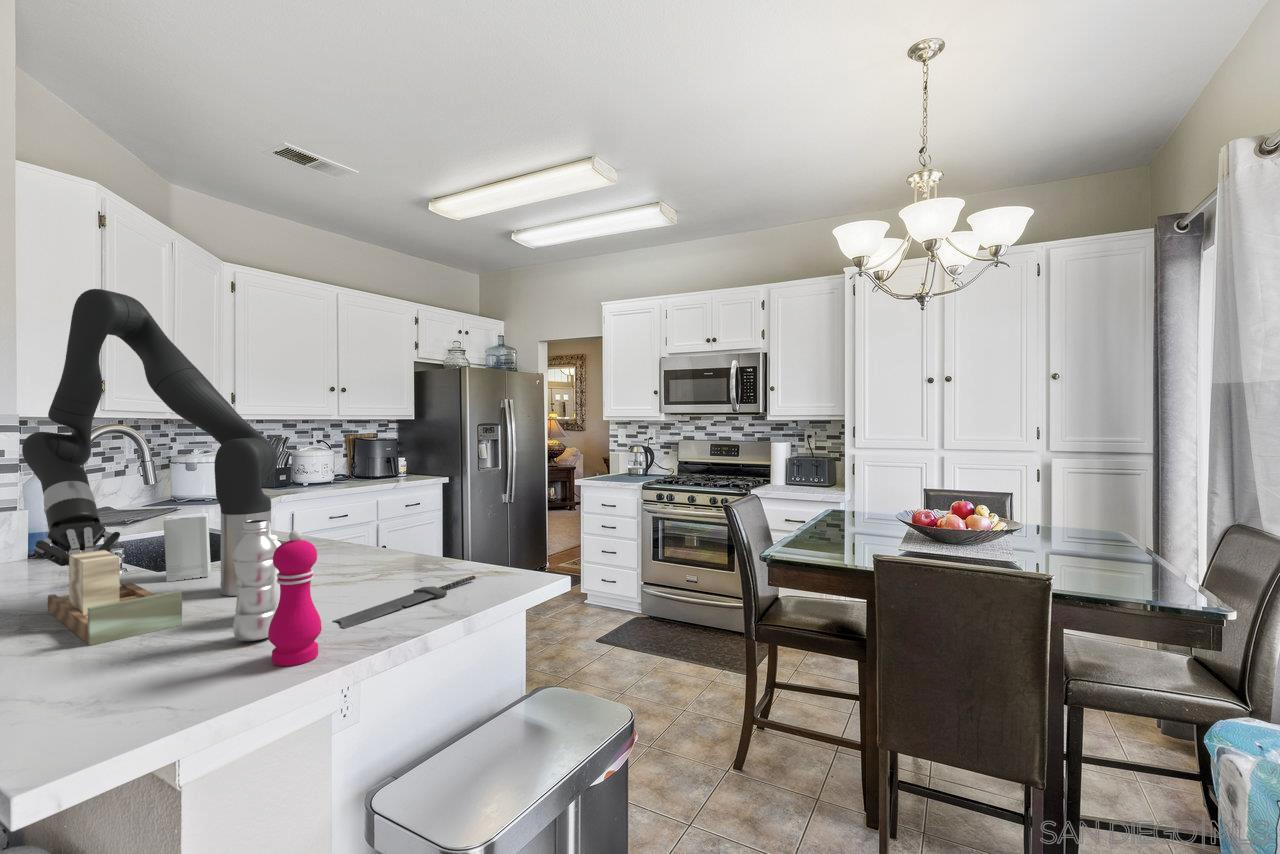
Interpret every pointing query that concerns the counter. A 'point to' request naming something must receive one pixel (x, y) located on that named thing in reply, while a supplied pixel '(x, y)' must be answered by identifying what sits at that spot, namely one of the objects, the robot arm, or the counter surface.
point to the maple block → (93, 579)
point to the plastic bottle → (254, 582)
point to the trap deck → (120, 614)
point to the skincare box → (187, 546)
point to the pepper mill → (294, 604)
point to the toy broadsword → (398, 604)
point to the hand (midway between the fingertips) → (87, 578)
